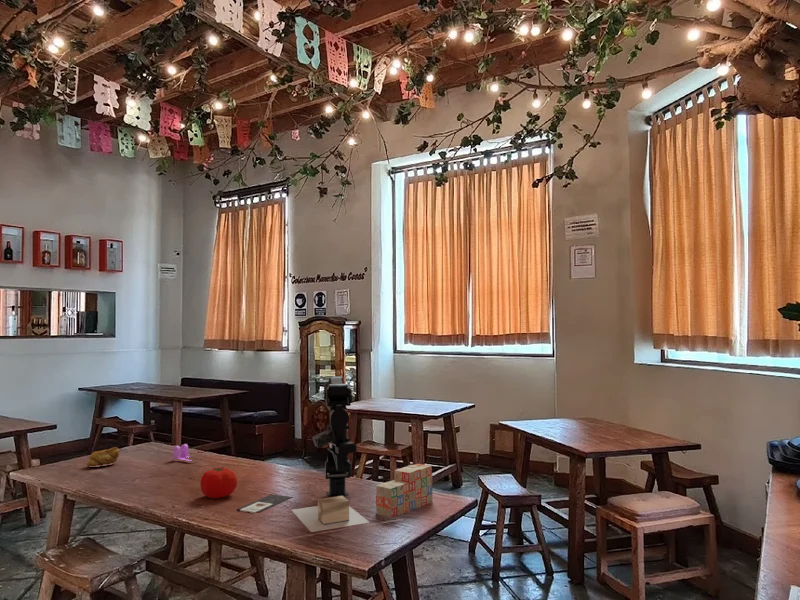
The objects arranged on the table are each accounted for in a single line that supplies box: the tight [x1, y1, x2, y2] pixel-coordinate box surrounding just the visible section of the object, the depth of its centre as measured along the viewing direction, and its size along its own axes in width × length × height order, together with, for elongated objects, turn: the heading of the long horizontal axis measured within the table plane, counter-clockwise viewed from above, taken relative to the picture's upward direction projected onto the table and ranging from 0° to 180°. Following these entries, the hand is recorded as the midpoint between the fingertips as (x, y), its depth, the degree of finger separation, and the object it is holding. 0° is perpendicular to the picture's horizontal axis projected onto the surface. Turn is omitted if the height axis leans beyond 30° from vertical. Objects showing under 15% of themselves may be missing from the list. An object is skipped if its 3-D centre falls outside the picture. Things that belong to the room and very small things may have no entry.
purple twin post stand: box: [172, 443, 192, 461], centre depth 260 cm, size 13×6×7 cm, turn 56°
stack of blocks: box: [375, 463, 434, 518], centre depth 186 cm, size 21×6×12 cm, turn 140°
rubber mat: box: [291, 505, 370, 533], centre depth 179 cm, size 23×18×1 cm
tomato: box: [199, 466, 238, 499], centre depth 203 cm, size 11×13×10 cm
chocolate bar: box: [236, 493, 293, 514], centre depth 193 cm, size 9×1×18 cm
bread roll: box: [86, 446, 120, 467], centre depth 254 cm, size 13×10×8 cm
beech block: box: [317, 496, 350, 525], centre depth 175 cm, size 6×8×6 cm
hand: (339, 470), depth 188 cm, fingers closed
